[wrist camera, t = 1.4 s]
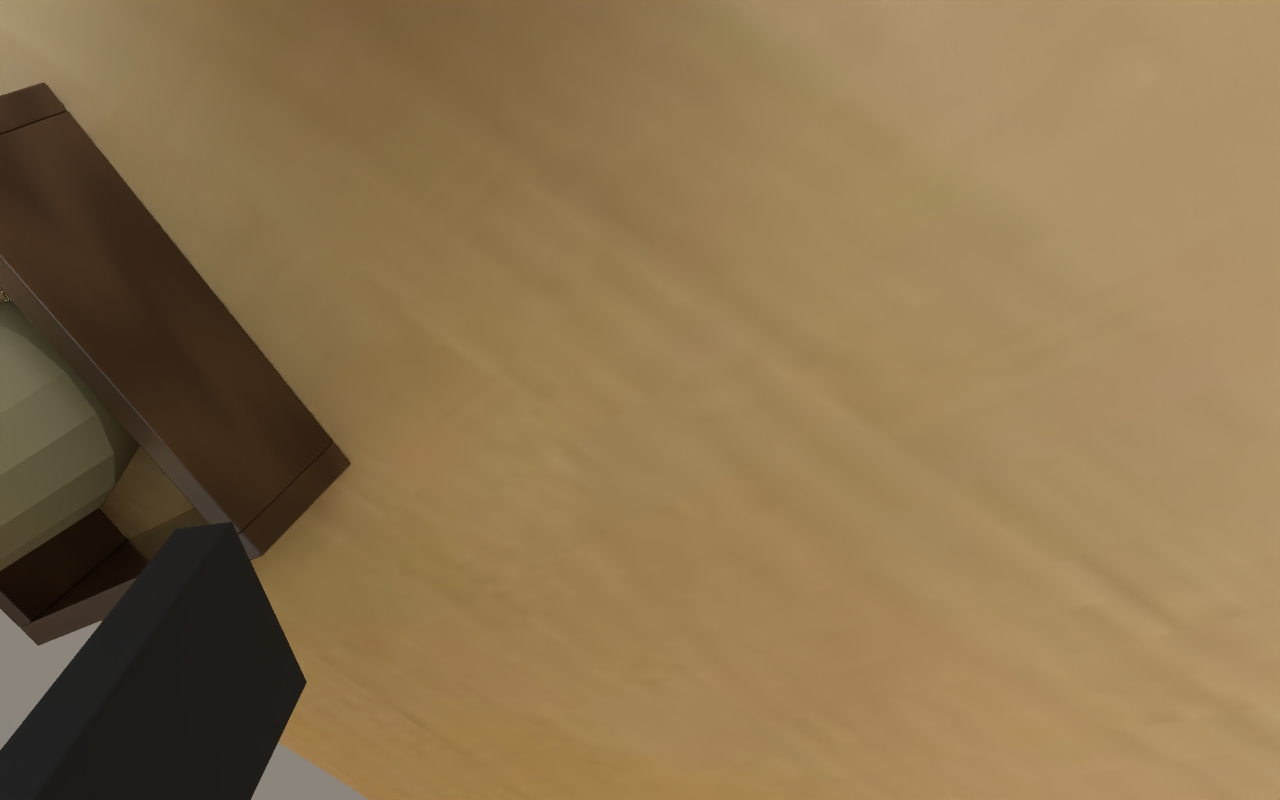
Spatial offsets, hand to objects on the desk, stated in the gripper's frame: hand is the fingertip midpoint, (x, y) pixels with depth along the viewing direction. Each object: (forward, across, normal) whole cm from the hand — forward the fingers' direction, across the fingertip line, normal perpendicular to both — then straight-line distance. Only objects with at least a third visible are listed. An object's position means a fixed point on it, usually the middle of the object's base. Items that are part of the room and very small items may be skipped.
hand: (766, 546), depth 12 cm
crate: (+21, -24, -4) cm, 32 cm away
